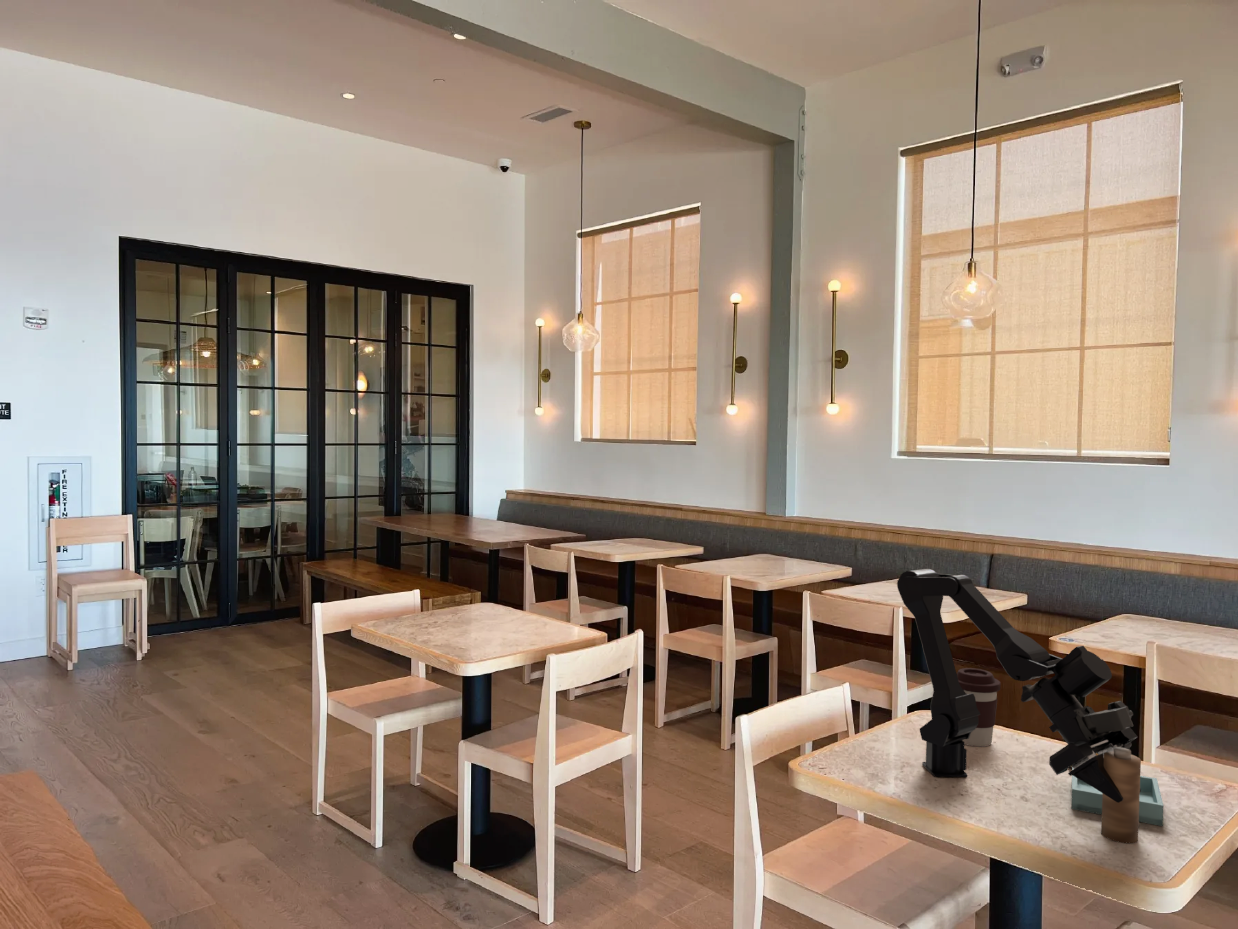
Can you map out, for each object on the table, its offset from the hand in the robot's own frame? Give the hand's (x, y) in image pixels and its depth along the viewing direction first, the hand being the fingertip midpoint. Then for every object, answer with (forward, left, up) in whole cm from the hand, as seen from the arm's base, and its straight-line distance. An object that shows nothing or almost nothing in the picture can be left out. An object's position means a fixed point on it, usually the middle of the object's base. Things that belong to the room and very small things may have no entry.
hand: (1129, 797), depth 140 cm
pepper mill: (-1, +1, -7) cm, 7 cm away
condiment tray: (+6, +14, -7) cm, 17 cm away
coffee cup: (-6, +45, -7) cm, 46 cm away
